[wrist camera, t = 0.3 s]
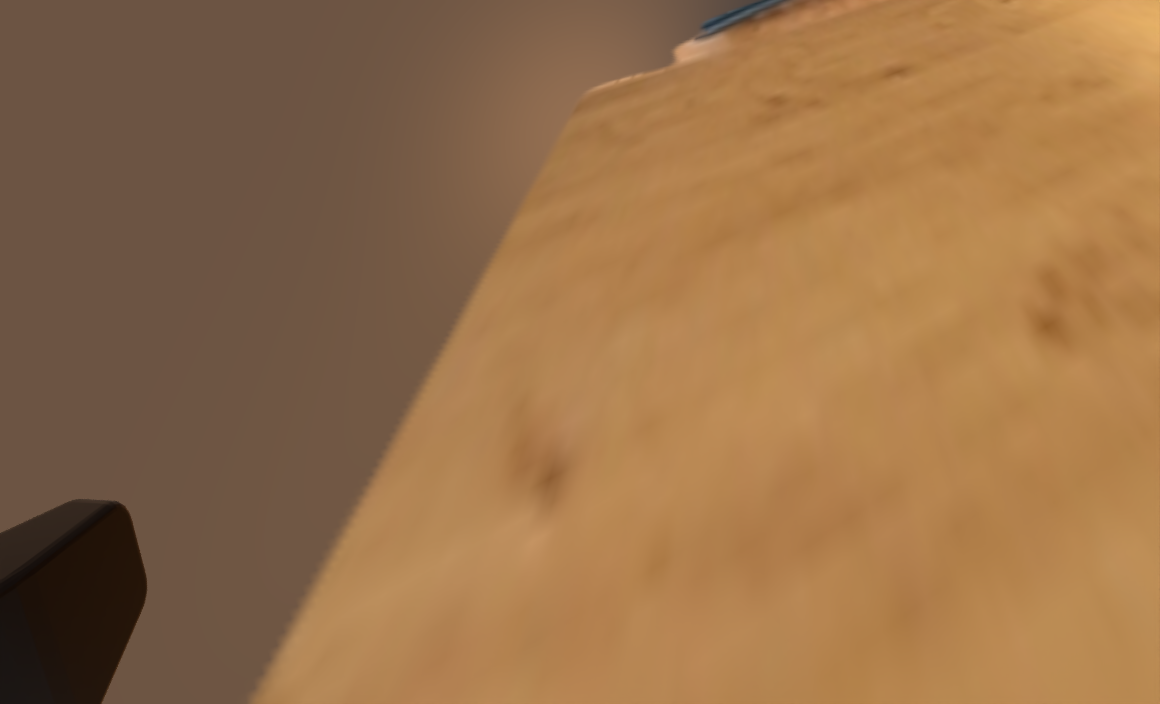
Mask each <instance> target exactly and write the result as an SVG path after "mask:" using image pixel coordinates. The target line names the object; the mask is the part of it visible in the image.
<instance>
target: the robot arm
mask: <svg viewBox="0 0 1160 704" xmlns="http://www.w3.org/2000/svg"><path fill="white" fill-rule="evenodd" d="M146 594H147V578H146V573H145V569H144V565H143V561H142V557H141V553H140V550H139V546H138V542H137V538H136V534H135V530H134V526H133V522H132V519H131V516H130V513H129V511H128V510H127V508H126V507H125V506H124V505H123V504H121V503H119V502H117V501H108V500H90V499H77V500H72V501H69V502H67V503H64V504H63V505H60V506H58V507H56V508H54V509H52V510H50V511H47V512H45V513H43V514H41V515H39V516H36V517H34V518H32V519H30V520H28V521H26V522H24V523H21V524H19V525H17V526H15V527H13V528H10V529H8V530H6V531H4V532H2V533H0V704H102V701H103V699H104V697H105V695H106V692H107V690H108V688H109V685H110V683H111V681H112V678H113V676H114V674H115V672H116V669H117V667H118V664H119V662H120V660H121V658H122V655H123V653H124V651H125V648H126V646H127V644H128V642H129V639H130V637H131V635H132V632H133V630H134V627H135V625H136V623H137V621H138V618H139V616H140V614H141V611H142V609H143V606H144V603H145V598H146Z"/></svg>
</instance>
